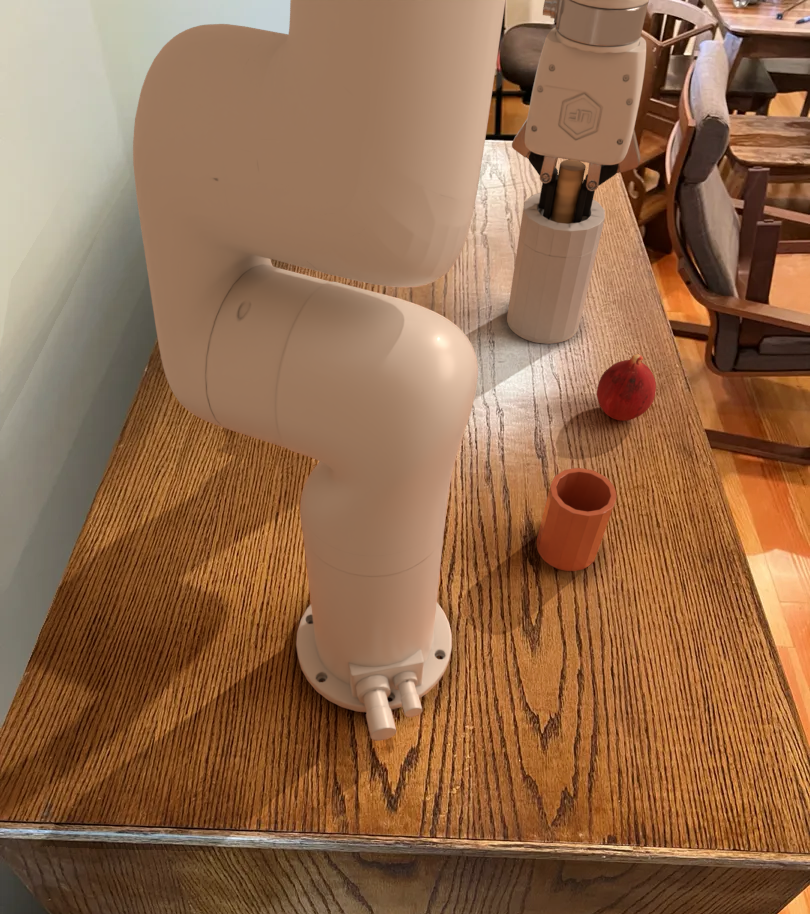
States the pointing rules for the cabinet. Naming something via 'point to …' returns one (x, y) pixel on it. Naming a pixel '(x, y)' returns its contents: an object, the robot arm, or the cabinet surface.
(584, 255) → the white hollow cylinder
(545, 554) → the holder
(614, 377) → the onion
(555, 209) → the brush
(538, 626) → the cabinet surface
